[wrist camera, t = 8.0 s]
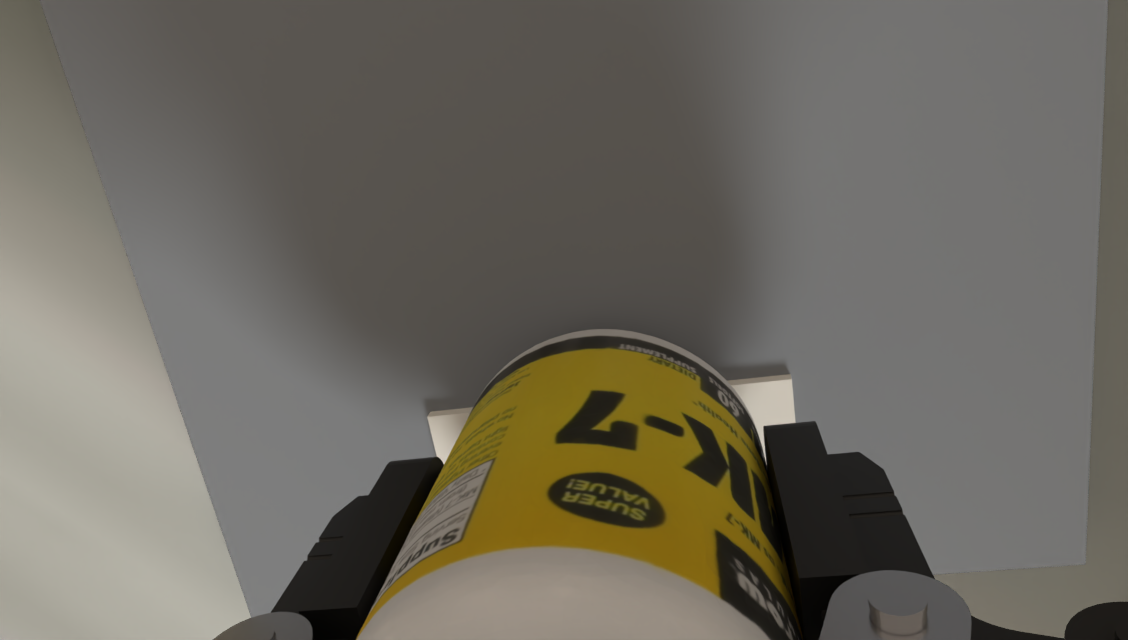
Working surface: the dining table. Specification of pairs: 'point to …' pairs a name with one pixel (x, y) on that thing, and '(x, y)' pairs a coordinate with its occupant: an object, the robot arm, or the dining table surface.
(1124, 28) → the dining table surface
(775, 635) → the supplement bottle
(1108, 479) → the dining table surface
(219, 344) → the grey rectangular board
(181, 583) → the dining table surface
